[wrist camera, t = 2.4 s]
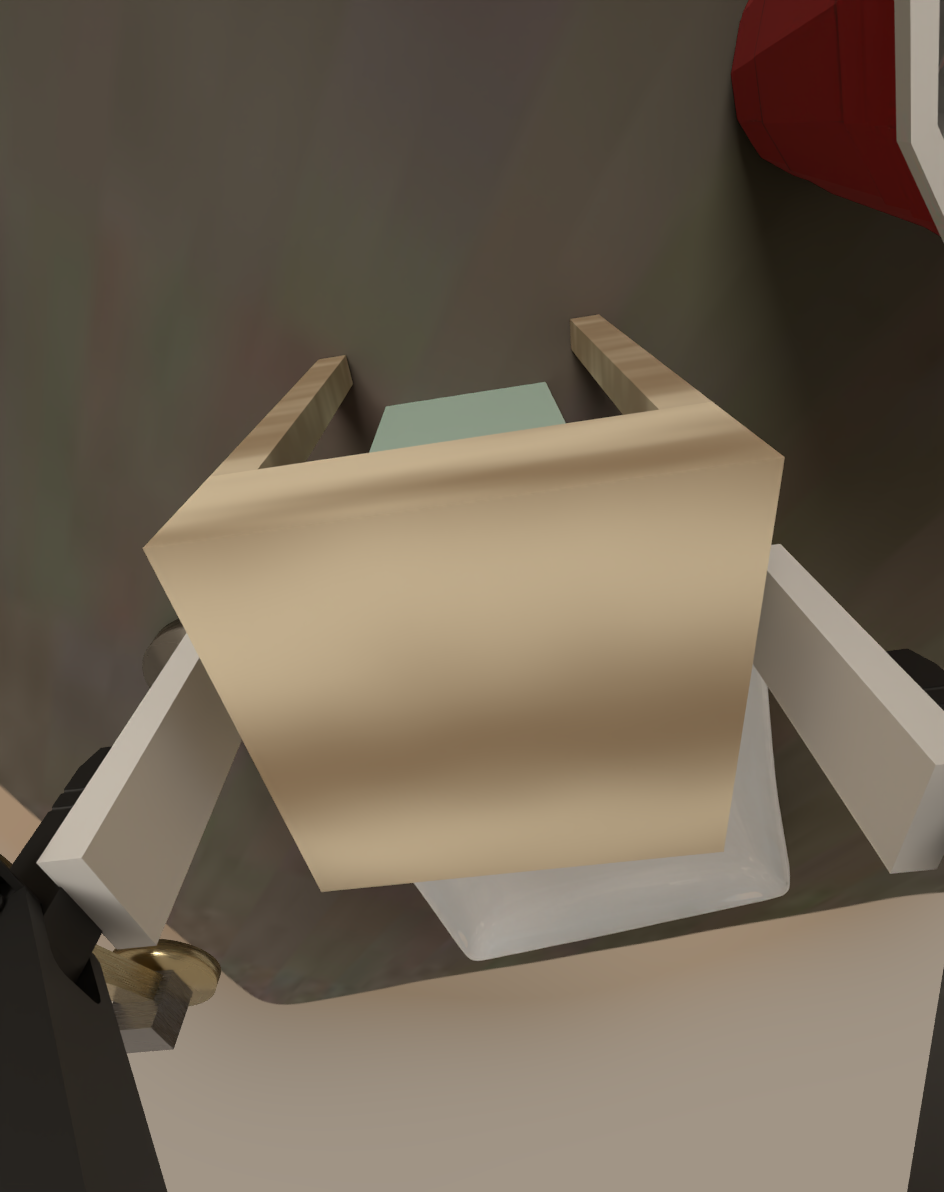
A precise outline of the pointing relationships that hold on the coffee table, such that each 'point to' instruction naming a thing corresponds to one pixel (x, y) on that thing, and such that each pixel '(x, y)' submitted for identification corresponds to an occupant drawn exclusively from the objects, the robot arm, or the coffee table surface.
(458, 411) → the block
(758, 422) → the coffee table surface
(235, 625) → the wooden stool
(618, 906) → the salad plate
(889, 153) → the plastic cup
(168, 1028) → the balance
